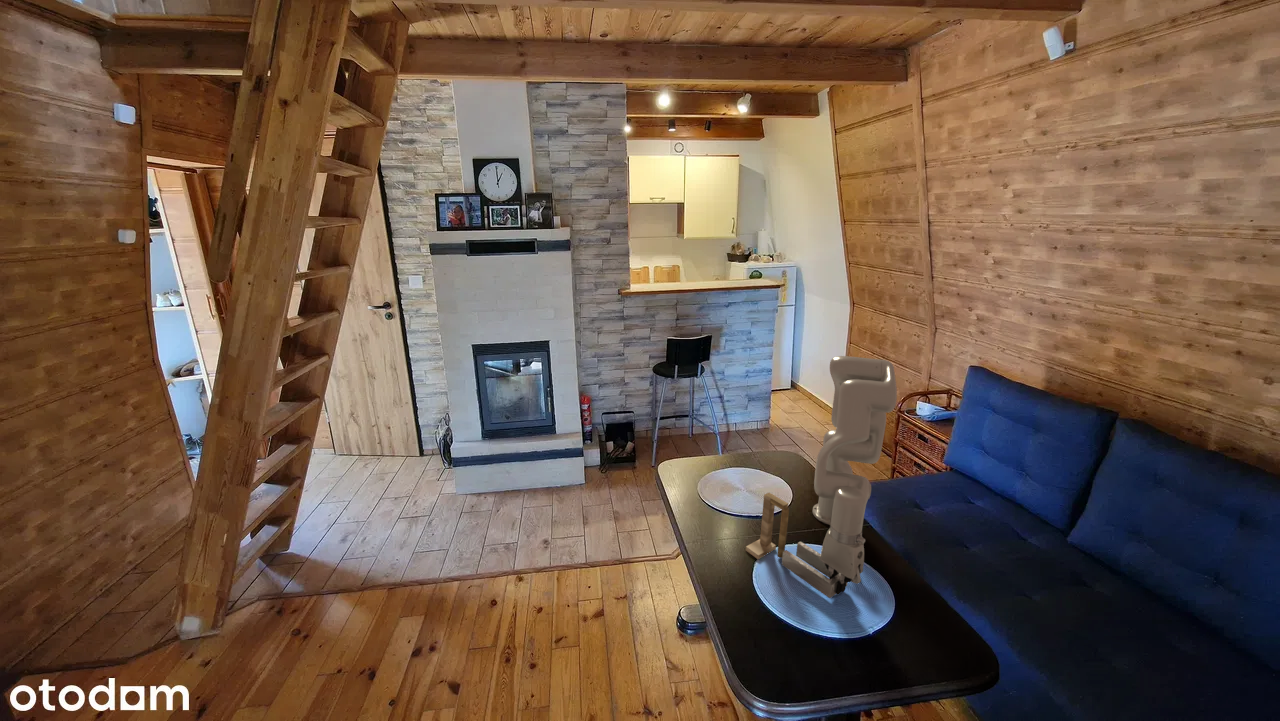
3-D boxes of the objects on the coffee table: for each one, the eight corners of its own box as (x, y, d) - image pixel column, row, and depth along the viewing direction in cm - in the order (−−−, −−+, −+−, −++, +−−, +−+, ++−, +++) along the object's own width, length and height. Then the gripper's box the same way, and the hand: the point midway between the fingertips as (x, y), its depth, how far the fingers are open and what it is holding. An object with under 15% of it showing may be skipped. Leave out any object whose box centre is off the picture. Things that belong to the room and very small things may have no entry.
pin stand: (763, 540, 157) (767, 489, 152) (787, 557, 150) (793, 503, 144) (745, 550, 153) (749, 497, 147) (769, 567, 145) (775, 513, 140)
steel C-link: (847, 585, 136) (849, 572, 135) (829, 598, 132) (831, 584, 131) (799, 553, 149) (800, 541, 147) (781, 564, 144) (783, 551, 143)
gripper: (881, 543, 125) (871, 601, 131) (827, 513, 137) (820, 567, 143) (865, 554, 121) (855, 614, 126) (810, 522, 133) (804, 578, 139)
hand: (836, 589), depth 135 cm, fingers closed on steel C-link, 1 cm apart
